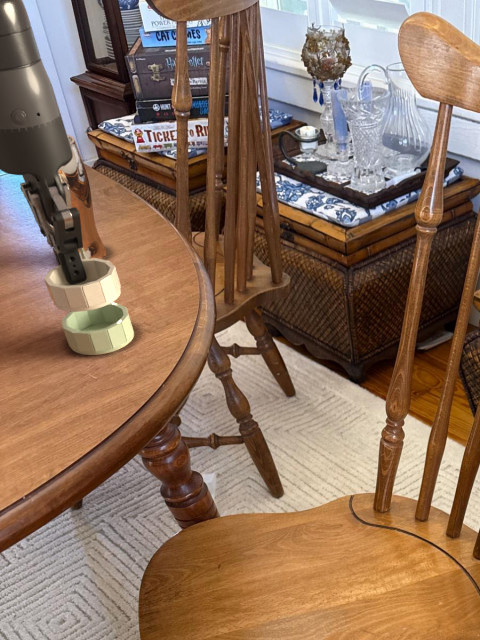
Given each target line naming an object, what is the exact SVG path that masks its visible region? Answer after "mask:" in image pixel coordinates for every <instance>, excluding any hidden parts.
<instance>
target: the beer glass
mask: <svg viewBox="0 0 480 640" xmlns="http://www.w3.org/2000/svg"><path fill="white" fill-rule="evenodd" d="M67 137H68V140H69V143H70V147H71V150H72V154H73V157H72V160H71V161H70V162H69V163H68V164H67V165H65V166H62V167H61V168H60V169H59V170H58V176H59V177H60V180H61V182H62V183H63V182H66V184H67V186H68V188H69V191H70V194H71V206H72V208H73V207H76V208H77V210H78V211H79V213H80V221H81V232H82V242H83V248H79V249H78V251H79V254H80V257H81V259H92V258H95V259H96V258H97V259H102V260H104V259H105V257H106V255H107V249H106V247H105V245H104V243H103V241H102V239H101V237H100V235H99V232H98V229H97V226H96V221H95V215H94V205H93V199H92V192H91V191H92V190H91V186H90V181H89V177H88V173H87V169H86V166H85V163H84V160H83V158H82V155H81V153H80V150H79V147H78V145H77V142H76V138H75V137H74V136H73V135H70V134H67Z"/></svg>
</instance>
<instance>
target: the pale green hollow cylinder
mask: <svg viewBox="0 0 480 640" xmlns="http://www.w3.org/2000/svg"><path fill="white" fill-rule="evenodd" d="M61 326H62V327H61V328H62V330H63V333H64V335H65V338H66V341H67V343H68V346H69V348H70V349H71V350H72V351H73V352H75V353H77V354H80V355H85V356H98V355H105V354H110V353H113V352H116V351H118V350H120V349H122V348H124V347H126V346H127V345H128V344H130V343H131V342H132V340H133V339H134V337H135V331H134V327H133V324H132V320H131V317H130V313H129V310H128V308H127V306H124V305H122V304H120V303H118V302H112V303H110V304H108V305H106V306H103V307H101V308H97V309H94V310H89V311H80V312H72V311H68V312H67V314H66V315H64V317H63V318H62V319H61Z"/></svg>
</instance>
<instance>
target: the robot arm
mask: <svg viewBox="0 0 480 640" xmlns="http://www.w3.org/2000/svg"><path fill="white" fill-rule="evenodd" d="M67 135H68V134H67V130H66V126H65V123H64V120H63V116H62V114H61V111H60V107H59V104H58V101H57V97H56V93H55V91H54V88H53V84H52V81H51V79H50V77H49V75H48V72H47V70H46V68H45V66H44V63H43V60H42V58H41V54H40V50H39V47H38V44H37V41H36V36H35V34H34V31H33V28H32V24H31V21H30V17H29V14H28V11H27V9H26V6H25V3H24V1H23V0H0V171H1V172H3V173H5V174H8V175H11V176H13V175H14V176H22V178H23V181H24V182H20V184H19V185H20V190H21V192H22V194H23V196H24V198H25V199H26V202H27V204H28V206H29V208H30V210H31V212H32V215H33V217H34V221H35V222H36V224H37V226H38V229H39V231H40V234H41V235H42V236H43V237H44V238H46V242H47V244H48V245H49V247H50V248H52V251H53V253H54V257H55V259H56V262H57V266H59V265H60V264H61V267H62V270H63V273H64V275H65V278H66V281H67V282H68V283H69V284H71V285H73V284H77V283H80V282H84V281H85V280H86V279H87V276H86V273H85V270H84V266H83V263H82V260H81V257H80V254H79V251H78V249H79V248H83V242H82V232H81V221H80V213H79V211H78V210H77V208H76V207H73V208H72V206H71V194H70V191H69V188H68V186H67V184H66V182H63V183H62V182H61V180H60V177H59V176H58V170H59V169H60V168H61V167H62V166H65V165H67V164H68V163H69V162H70V161H71V160H72V157H73V154H72V150H71V147H70V143H69V140H68V137H67Z"/></svg>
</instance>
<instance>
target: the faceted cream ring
mask: <svg viewBox="0 0 480 640" xmlns="http://www.w3.org/2000/svg"><path fill="white" fill-rule="evenodd" d="M81 260H82V263H83V266H84V270H85V273H86V276H87V279H86V280H85V281H84V282H80V283H77V284H73V285H71V284H69V283H68V282H67V281H66V278H65V275H64V273H63V270H62V267H61V264H60V265H57V266H55V267H54V268H52V269H49V270H48V271H47V273H46V274H45V277H44V278H43V279H44V282H45V285H46V288H47V291H48V294H49V296H50V299H51V300H52V302H53V305H54V306H55V307H56V308H58V309H59V310H62V311H65V312H70V311H72V312H80V311H89V310H94V309H97V308H101V307H103V306H106V305H108V304H110V303H114V302H115V301H116V300H118V298H119V297H120V295H121V293H122V289H121V288H122V285H121V282H120V278H119V276H118V272H117V269H116V268H117V267H116V266H115V265H114V264H113V263H112V262H111V261H110V260H107V259H97V258H96V259H95V258H92V259H81Z"/></svg>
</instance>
